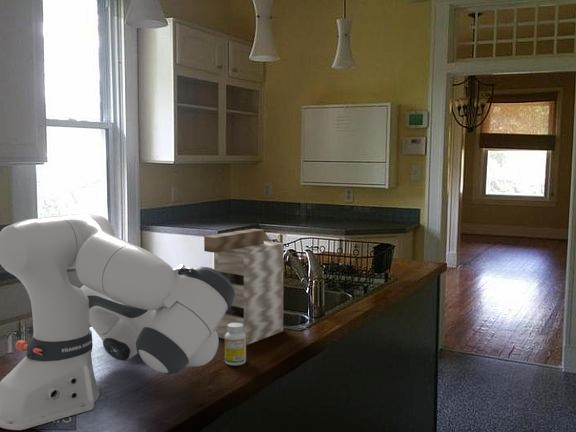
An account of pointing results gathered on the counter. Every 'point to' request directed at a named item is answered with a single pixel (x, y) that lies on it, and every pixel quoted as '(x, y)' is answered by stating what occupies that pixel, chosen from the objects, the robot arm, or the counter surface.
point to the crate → (254, 289)
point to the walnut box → (233, 240)
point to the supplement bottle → (235, 344)
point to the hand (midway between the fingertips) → (196, 268)
